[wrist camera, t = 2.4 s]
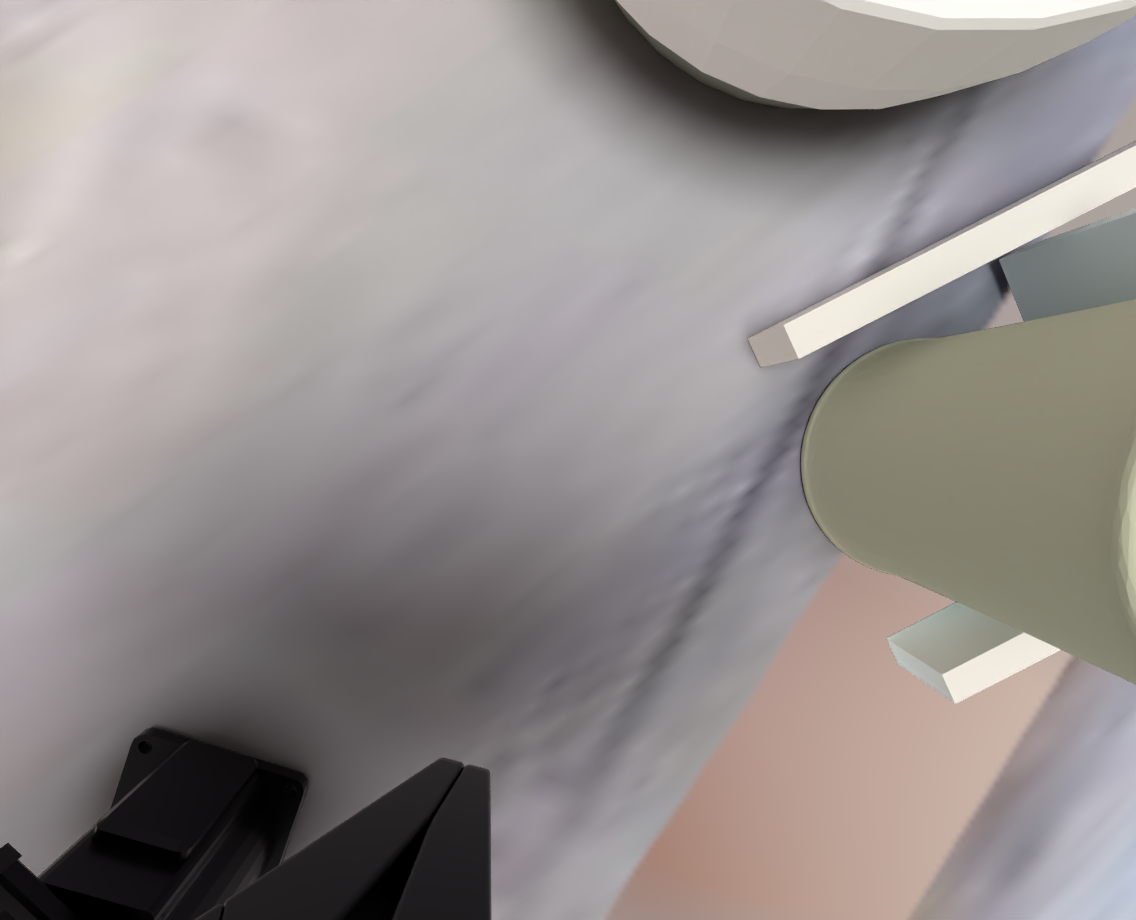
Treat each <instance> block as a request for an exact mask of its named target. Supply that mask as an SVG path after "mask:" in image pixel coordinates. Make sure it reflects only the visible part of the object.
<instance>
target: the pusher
mask: <svg viewBox="0 0 1136 920" xmlns="http://www.w3.org/2000/svg"><path fill="white" fill-rule="evenodd" d="M999 261H1000V264H1001V266H1002V269H1003V271H1004V274H1005V276H1006V279H1007V281H1008V283H1009V286H1010V288H1011V291H1012V293H1013V296H1014V298H1015V301H1016V303H1017V306H1018V308H1019V311H1020V313H1021V315H1022V318H1023V320H1024V322H1026V321H1031V320H1036V319H1041V318H1046V317H1051V316H1056V315H1061V314H1066V313H1071V312H1076V311H1081V310H1086V309H1091V308H1096V307H1100V306H1105V305H1110V304H1115V303H1120V302H1125V301H1130V300H1135V299H1136V208H1134V209H1131V210H1128V211H1125V212H1122V213H1119V214H1116V215H1114V216H1111V217H1108V218H1105V219H1102V220H1100V221H1097V222H1094V223H1091V224H1088V225H1085V226H1082V227H1080V228H1077V229H1074V230H1071V231H1068V232H1065V233H1062V234H1059V235H1057V236H1054V237H1051V238H1048V239H1045V240H1042V241H1040V242H1037V243H1034V244H1031V245H1028V246H1025V247H1023V248H1021V249H1019V250H1017V251H1015V252H1013V253H1011V254H1009V255H1007V256H1005V257H1003V258H1001V259H999Z"/></svg>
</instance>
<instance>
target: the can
mask: <svg viewBox="0 0 1136 920" xmlns="http://www.w3.org/2000/svg"><path fill="white" fill-rule="evenodd" d="M801 473H802V482H803V487H804V492H805V495H806V499H807V503H808V505H809V507H810V509H811V512H812V514H813V516H814V518H815V520H816V522H817V523H818V525H819V526H820V528H821V529H822V531H823V532H824V533H825V535H826V536H827V537H828V538H829V539H830V541H831V542H832V543H833V544H834V545H835V546H836V547H837V548H838V549H840V550H841V551H842V552H843V553H845V554H846V555H847V556H848V557H850V558H852V559H853V560H855V561H857V562H858V563H861V564H862V565H864V566H866V567H869V568H871V569H874V570H877V571H880V572H883V573H887V574H892V575H897V576H899V577H901V578H904V579H906V580H909V581H911V582H913V583H916V584H918V585H920V586H922V587H925V588H927V589H929V590H931V591H934V592H936V593H938V594H940V595H942V596H945V597H947V598H949V599H951V600H954V601H956V602H958V603H960V604H962V605H965V606H967V607H969V608H971V609H973V610H976V611H978V612H980V613H982V614H984V615H987V616H989V617H991V618H993V619H995V620H998V621H1000V622H1002V623H1004V624H1006V625H1009V626H1011V627H1013V628H1015V629H1017V630H1020V631H1022V632H1024V633H1026V634H1028V635H1031V636H1033V637H1035V638H1037V639H1039V640H1041V641H1043V642H1046V643H1048V644H1050V645H1052V646H1054V647H1056V648H1058V649H1061V650H1063V651H1065V652H1067V653H1069V654H1071V655H1073V656H1076V657H1078V658H1080V659H1082V660H1084V661H1086V662H1088V663H1091V664H1093V665H1095V666H1097V667H1099V668H1101V669H1103V670H1106V671H1108V672H1110V673H1112V674H1114V675H1116V676H1118V677H1121V678H1123V679H1125V680H1127V681H1129V682H1131V683H1133V684H1136V299H1135V300H1130V301H1125V302H1120V303H1115V304H1110V305H1105V306H1100V307H1096V308H1091V309H1086V310H1081V311H1076V312H1071V313H1066V314H1061V315H1056V316H1051V317H1046V318H1041V319H1036V320H1031V321H1026V322H1021V323H1016V324H1010V325H1005V326H1000V327H995V328H989V329H984V330H979V331H974V332H968V333H963V334H957V335H951V336H946V337H940V338H916V339H907V340H902V341H897V342H893V343H890V344H887V345H884V346H881V347H879V348H877V349H875V350H872V351H871V352H869V353H867V354H865V355H863V356H862V357H860V358H859V359H857V360H856V361H854V362H853V363H852V364H850V365H849V366H848V367H846V368H845V369H844V370H843V371H842V372H841V373H840V374H839V375H838V376H837V377H836V378H835V379H834V380H833V381H832V382H831V384H830V385H829V386H828V387H827V389H826V390H825V391H824V393H823V394H822V396H821V397H820V399H819V401H818V402H817V404H816V406H815V408H814V410H813V412H812V414H811V417H810V420H809V423H808V425H807V428H806V431H805V435H804V440H803V445H802V453H801Z"/></svg>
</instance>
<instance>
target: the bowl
mask: <svg viewBox="0 0 1136 920" xmlns="http://www.w3.org/2000/svg"><path fill="white" fill-rule="evenodd" d="M615 2H616V4H617V5H618V7H619V8H620V10H621V11H622V13H623V14H624V16H625V18H626V19H627V20H628V21H629V22H630V23H631V24H632V25H633V27H634V28H635V29H636V30H637V31H638V32H639V33H640V34H641V35H642V36H643V37H644V38H645V39H646V40H647V41H648V42H649V43H650V44H651V45H652V46H653V48H654V49H655V50H656V51H657V52H658V53H659V54H660V55H662V56H663V57H664V58H666V59H667V60H669V61H670V62H672V63H673V64H674V65H676V66H677V67H679V68H680V69H682V70H683V71H684V72H686V73H687V74H689V75H690V76H691V77H693V78H694V79H696V80H697V81H699V82H701V83H703V84H705V85H708V86H710V87H712V88H715V89H717V90H719V91H722V92H724V93H726V94H728V95H731V96H733V97H735V98H738V99H740V100H744V101H749V102H754V103H759V104H764V105H768V106H773V107H778V108H783V109H883V108H887V107H892V106H896V105H901V104H905V103H910V102H914V101H919V100H923V99H928V98H932V97H937V96H941V95H944V94H948V93H951V92H955V91H958V90H962V89H965V88H969V87H972V86H975V85H979V84H982V83H986V82H989V81H993V80H996V79H1000V78H1003V77H1007V76H1010V75H1014V74H1017V73H1020V72H1023V71H1025V70H1027V69H1029V68H1032V67H1034V66H1036V65H1038V64H1040V63H1043V62H1045V61H1047V60H1049V59H1051V58H1054V57H1056V56H1058V55H1060V54H1062V53H1065V52H1067V51H1069V50H1071V49H1073V48H1076V47H1078V46H1080V45H1082V44H1085V43H1087V42H1089V41H1091V40H1093V39H1095V38H1097V37H1098V36H1100V35H1102V34H1104V33H1105V32H1107V31H1109V30H1111V29H1112V28H1114V27H1116V26H1118V25H1119V24H1121V23H1123V22H1125V21H1126V20H1128V19H1130V18H1132V17H1133V16H1135V15H1136V0H615Z"/></svg>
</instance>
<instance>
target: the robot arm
mask: <svg viewBox="0 0 1136 920" xmlns="http://www.w3.org/2000/svg"><path fill="white" fill-rule="evenodd" d="M146 741H148V742H150V743H151V745H152V747H151V746H149V745H148V744H147V742H146ZM289 785H294V786H295V787H296V788H297V790H293V789H291V788H290V787H289ZM307 789H308V779H307V777H306V776H305V775H304V774H302V773H300V772H298V771H295V770H291V769H288V768H285V767H282V766H278V765H275V764H272V763H268V762H265V761H262V760H259V759H255V758H252V757H249V756H245V755H242V754H239V753H236V752H232V751H229V750H226V749H222V748H219V747H216V746H212V745H209V744H206V743H203V742H199V741H196V740H193V739H189V738H186V737H183V736H180V735H176V734H173V733H170V732H166V731H163V730H160V729H156V728H150V729H146V730H145V731H144V732H142V733H141V734H140V735H138V736H137V737H136V738H135V739H134V740H133V742H132V744H131V747H130V750H129V753H128V756H127V759H126V763H125V766H124V769H123V772H122V775H121V778H120V781H119V784H118V787H117V790H116V794H115V797H114V800H113V803H112V806H111V809H110V810H109V811H108V812H107V813H106V814H105V815H104V816H103V817H102V818H101V819H99V821H98V822H97V823H96V824H95V825H94V826H93V827H92V828H91V829H90V830H89V831H88V832H86V833H85V834H84V835H83V836H82V837H81V838H80V839H79V840H78V841H77V842H76V843H74V844H73V845H72V846H71V847H70V848H69V849H68V850H67V851H66V852H65V853H63V854H62V855H61V856H60V857H59V858H58V859H57V860H56V861H55V862H54V863H52V864H51V865H50V866H49V867H48V868H47V869H46V870H45V871H44V872H43V873H42V874H40V875H39V876H38V877H36V876H35V875H34V874H33V873H32V872H31V871H30V870H29V869H28V868H27V867H26V866H25V865H23V864H22V863H21V862H20V861H19V860H18V859H19V858H20V857H21V856H22V855H21V854H20V853H18V852H17V851H16V850H15V849H14V848H13V847H12V846H11V845H10V844H9V843H7V844H5V845H4V846H3V847H2V848H0V920H491V803H490V772H489V770H487V769H484V768H481V767H477V766H473V765H467V766H464V764H463V763H462V762H458V761H455V760H451V759H447V758H440V759H438V760H436V761H435V762H433V763H432V764H430V765H429V766H427V767H426V768H424V769H423V770H421V771H420V772H418V773H417V774H415V775H414V776H412V777H411V778H409V779H408V780H406V781H405V782H403V783H402V784H400V785H399V786H397V787H396V788H394V789H393V790H391V791H390V792H388V793H387V794H385V795H384V796H382V797H381V798H379V799H378V800H376V801H375V802H373V803H372V804H370V805H369V806H367V807H366V808H364V809H363V810H361V811H360V812H358V813H357V814H355V815H354V816H352V817H351V818H349V819H347V820H346V821H344V822H343V823H341V824H340V825H338V826H337V827H335V828H334V829H332V830H331V831H329V832H328V833H326V834H325V835H323V836H322V837H320V838H319V839H317V840H316V841H314V842H313V843H311V844H310V845H308V846H307V847H305V848H304V849H302V850H301V851H299V852H298V853H296V854H295V855H293V856H292V857H290V858H289V859H287V860H286V861H284V862H283V863H282V860H283V858H284V855H285V852H286V849H287V846H288V843H289V840H290V837H291V835H292V832H293V829H294V826H295V823H296V820H297V817H298V814H299V812H300V809H301V806H302V803H303V800H304V797H305V794H306V791H307Z"/></svg>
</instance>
